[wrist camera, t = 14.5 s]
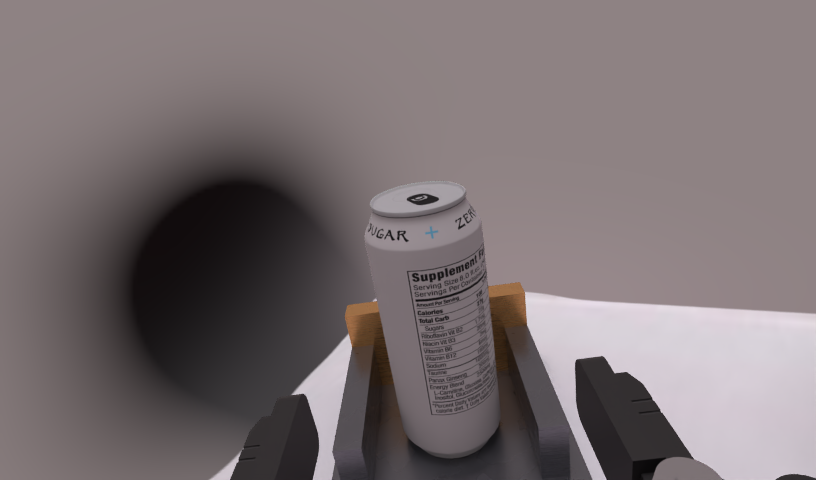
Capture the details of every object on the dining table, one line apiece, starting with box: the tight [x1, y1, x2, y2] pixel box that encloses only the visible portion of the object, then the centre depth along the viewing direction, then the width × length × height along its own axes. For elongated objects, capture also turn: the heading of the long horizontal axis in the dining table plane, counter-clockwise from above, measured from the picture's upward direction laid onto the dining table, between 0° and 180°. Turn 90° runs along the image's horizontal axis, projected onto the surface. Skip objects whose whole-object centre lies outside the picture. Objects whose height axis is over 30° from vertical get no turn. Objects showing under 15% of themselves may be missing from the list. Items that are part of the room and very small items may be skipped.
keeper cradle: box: [332, 282, 592, 480], centre depth 28 cm, size 14×14×7 cm
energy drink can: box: [364, 181, 501, 459], centre depth 26 cm, size 6×6×15 cm
